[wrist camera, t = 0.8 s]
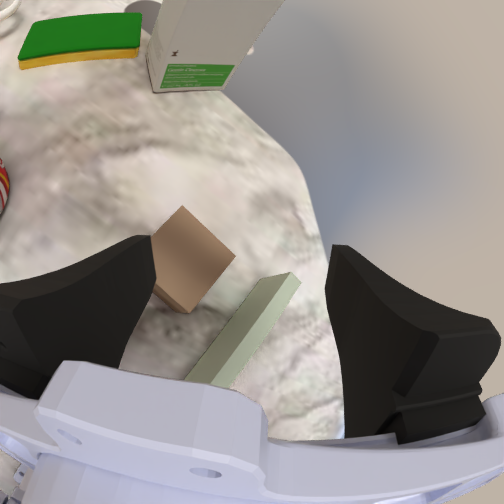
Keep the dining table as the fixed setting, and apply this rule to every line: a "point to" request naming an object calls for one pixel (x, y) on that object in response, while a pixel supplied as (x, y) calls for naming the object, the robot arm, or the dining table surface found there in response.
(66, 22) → the dish sponge
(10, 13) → the mug
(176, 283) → the letter cube
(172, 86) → the skincare box
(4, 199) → the soda can
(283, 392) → the dining table surface
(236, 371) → the screen
